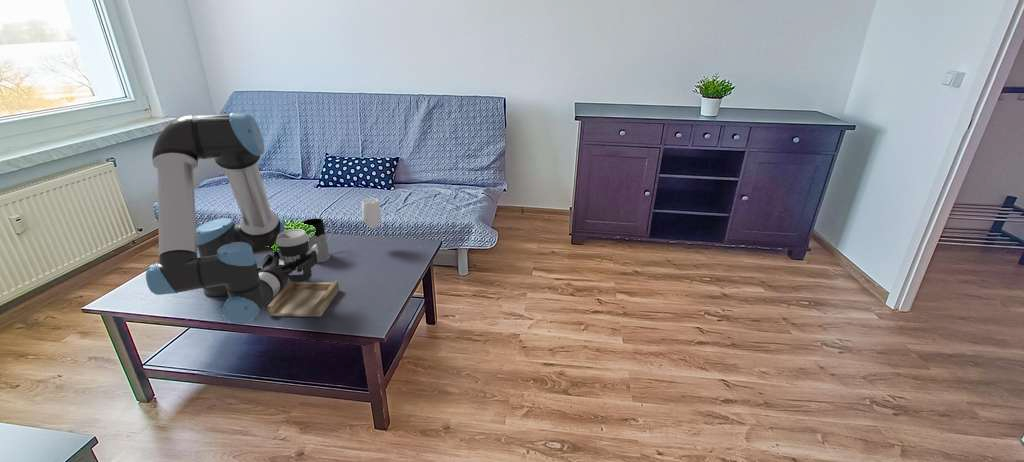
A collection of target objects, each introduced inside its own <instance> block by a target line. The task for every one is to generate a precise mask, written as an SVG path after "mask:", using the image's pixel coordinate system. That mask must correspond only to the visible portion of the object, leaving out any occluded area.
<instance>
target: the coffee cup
mask: <svg viewBox="0 0 1024 462" xmlns="http://www.w3.org/2000/svg"><path fill="white" fill-rule="evenodd" d="M309 238H310V237H309V235H308V234H307V233H306V232H305V230H303V228H301V229H300V228H291V229H288V230H285V231H284V232H281V233H280V234H278V235H277V239H276V245H278V247H279V250H280V252H281V255H282V258H283V265H285V264H287V263H289V262H294V261H296V260H298V259H300V258H302V257H304V256H306V253H307V252H308V251H309V243H308V240H309ZM311 278H312V268H310V269H309V270H308V271H307V272H305V273H304V275H303V276H302V277H298V275H293V276H292V277H290V278H289V279H288V280H289V282H290V281H291V282H307V281H308V280H309V279H311Z"/></svg>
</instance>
